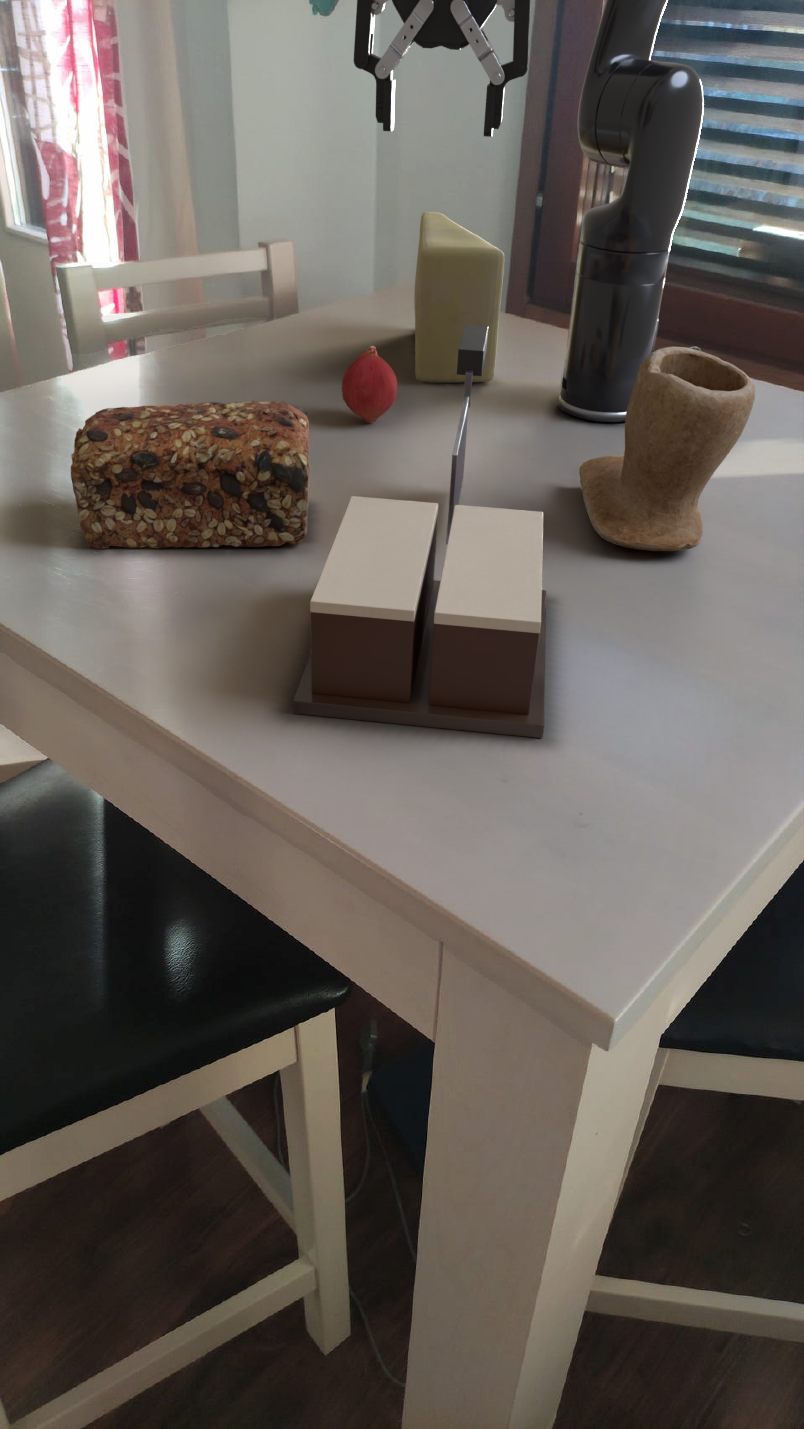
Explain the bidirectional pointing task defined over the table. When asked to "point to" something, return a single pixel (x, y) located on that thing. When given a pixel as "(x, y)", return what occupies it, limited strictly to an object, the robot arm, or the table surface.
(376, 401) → the onion
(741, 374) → the stone cup
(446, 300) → the cheese
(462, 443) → the knife
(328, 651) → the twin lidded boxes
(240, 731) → the table surface
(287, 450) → the bread
